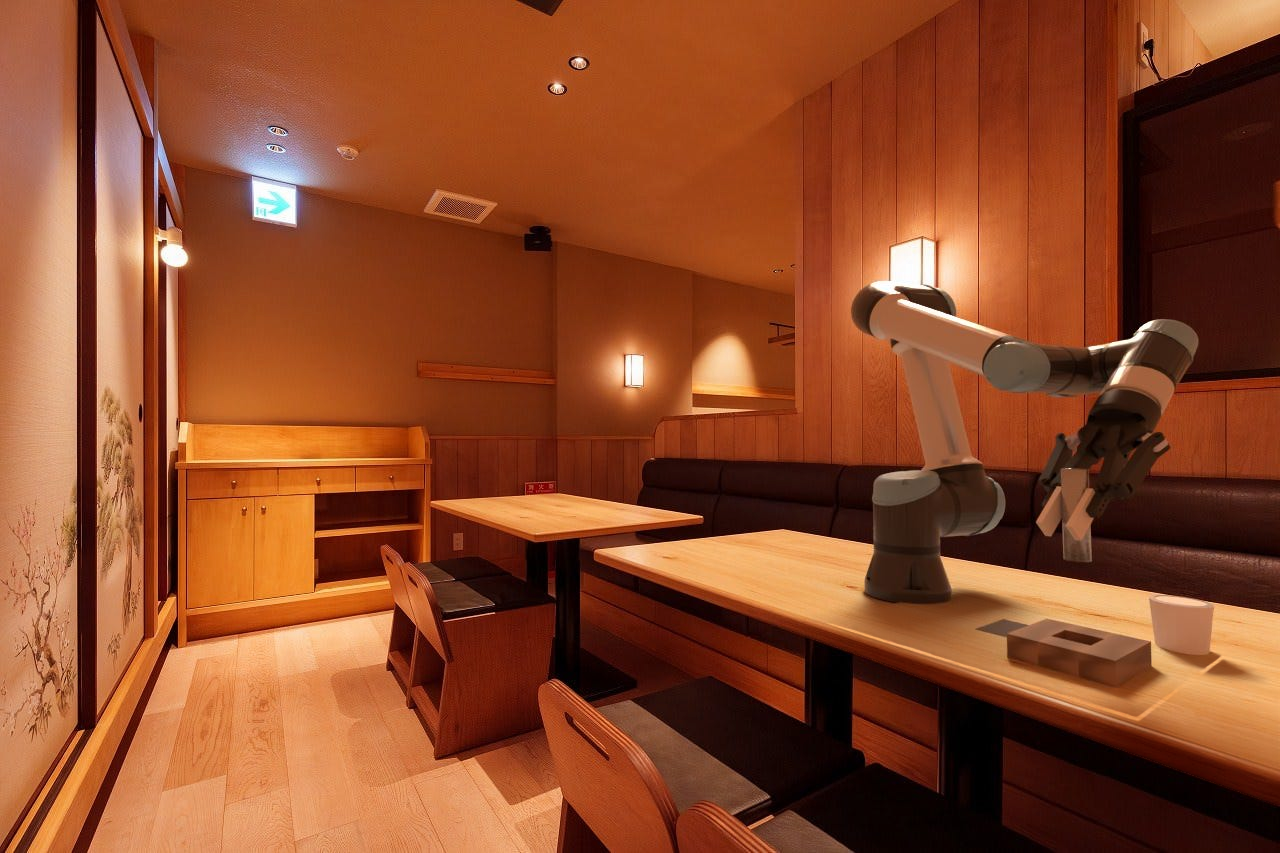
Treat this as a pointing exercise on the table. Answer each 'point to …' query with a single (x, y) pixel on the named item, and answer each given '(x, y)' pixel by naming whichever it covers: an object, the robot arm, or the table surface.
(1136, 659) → the socket block
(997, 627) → the coaster
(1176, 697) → the table surface
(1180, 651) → the white cup
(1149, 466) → the robot arm
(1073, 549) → the peg
